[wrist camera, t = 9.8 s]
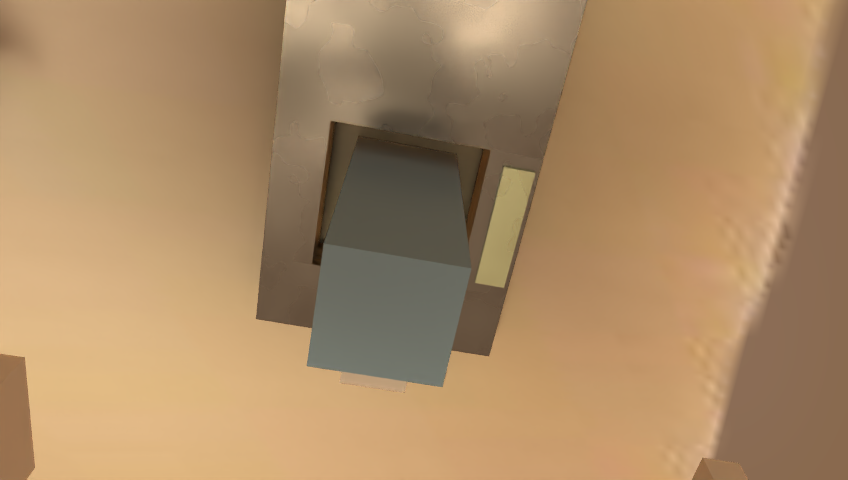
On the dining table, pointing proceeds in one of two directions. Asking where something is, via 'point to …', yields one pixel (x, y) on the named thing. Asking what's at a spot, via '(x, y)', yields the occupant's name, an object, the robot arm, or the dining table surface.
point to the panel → (415, 126)
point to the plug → (392, 269)
